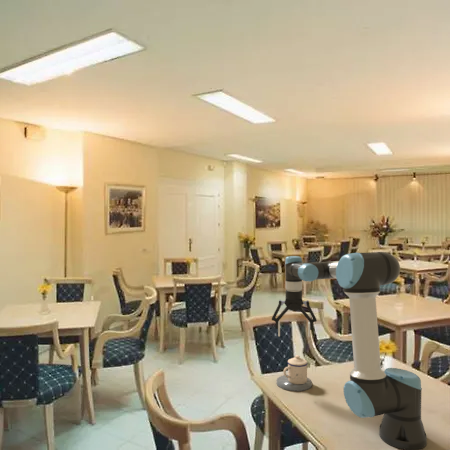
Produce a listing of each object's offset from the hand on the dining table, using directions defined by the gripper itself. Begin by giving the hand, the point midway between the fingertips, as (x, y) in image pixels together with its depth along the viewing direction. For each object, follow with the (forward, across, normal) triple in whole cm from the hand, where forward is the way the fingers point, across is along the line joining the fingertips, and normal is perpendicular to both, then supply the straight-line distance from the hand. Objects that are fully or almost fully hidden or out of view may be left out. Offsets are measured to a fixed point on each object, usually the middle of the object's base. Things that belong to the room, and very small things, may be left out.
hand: (294, 336), depth 188 cm
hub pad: (+22, 0, 0) cm, 22 cm away
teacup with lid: (+21, 0, 0) cm, 21 cm away
